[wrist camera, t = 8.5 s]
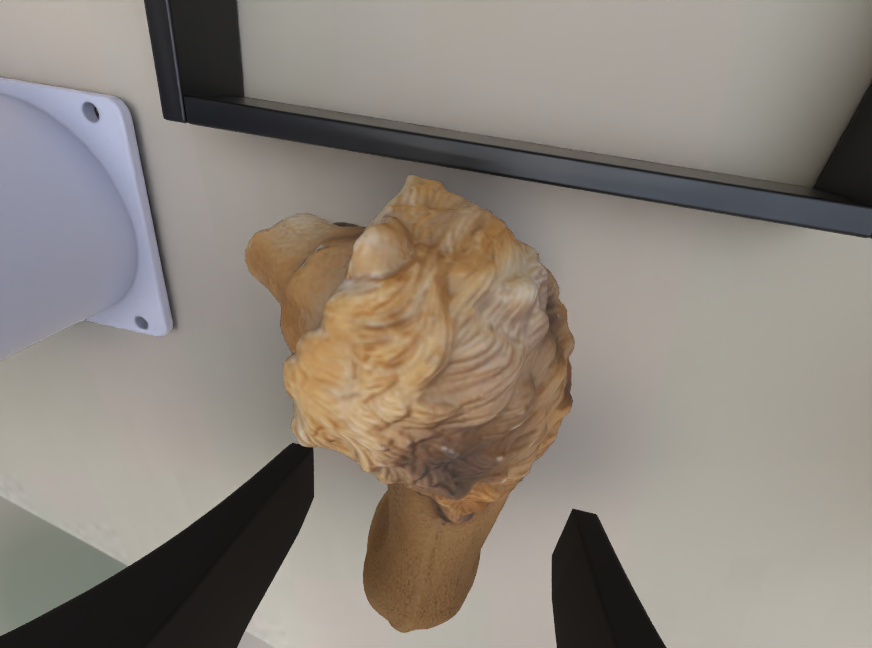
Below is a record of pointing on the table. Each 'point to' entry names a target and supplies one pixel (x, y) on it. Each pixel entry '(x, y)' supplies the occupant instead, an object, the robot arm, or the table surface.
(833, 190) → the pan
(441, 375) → the lion figurine
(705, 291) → the table surface
